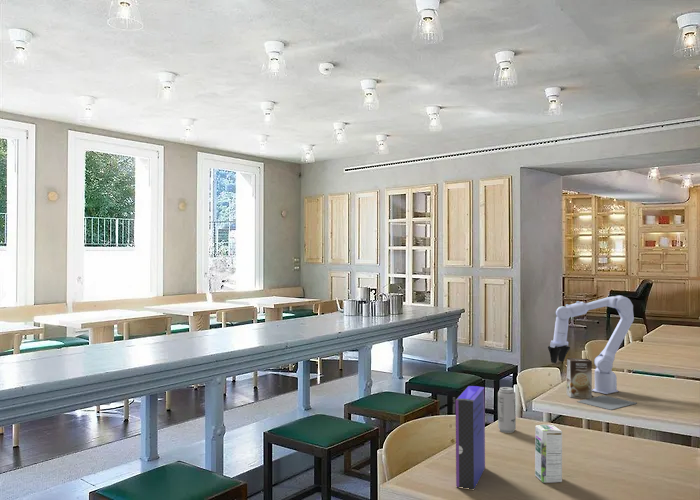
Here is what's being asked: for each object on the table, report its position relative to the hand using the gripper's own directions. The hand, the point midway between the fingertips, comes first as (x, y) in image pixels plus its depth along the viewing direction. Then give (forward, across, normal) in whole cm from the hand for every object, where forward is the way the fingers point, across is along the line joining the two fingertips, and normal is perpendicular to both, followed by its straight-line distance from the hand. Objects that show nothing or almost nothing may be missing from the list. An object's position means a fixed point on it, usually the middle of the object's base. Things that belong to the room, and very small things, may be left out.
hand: (557, 362), depth 269 cm
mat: (+10, +8, +26) cm, 29 cm away
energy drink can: (+16, +70, +16) cm, 73 cm away
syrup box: (+14, +101, +46) cm, 112 cm away
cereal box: (+17, +115, +30) cm, 120 cm away
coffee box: (+12, +5, +14) cm, 19 cm away
